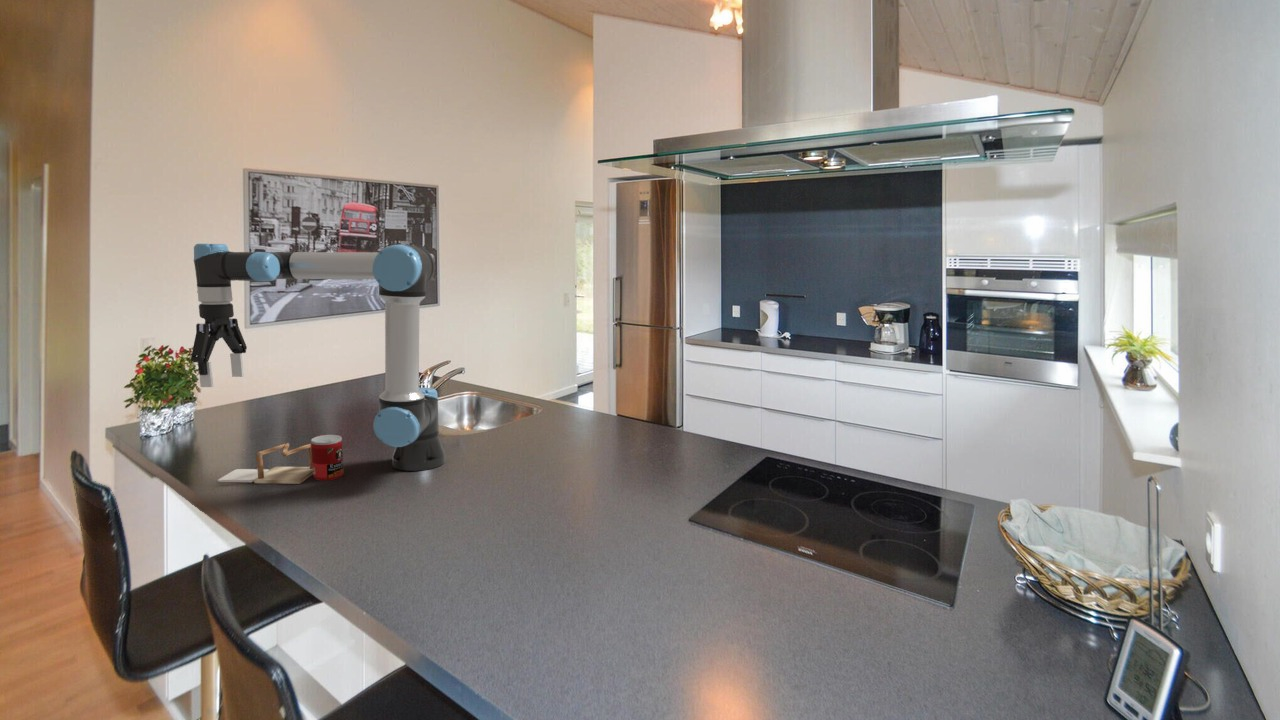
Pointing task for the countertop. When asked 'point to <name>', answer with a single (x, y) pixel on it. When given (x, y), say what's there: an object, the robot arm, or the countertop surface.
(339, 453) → the canned food
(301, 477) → the wooden zigzag stand
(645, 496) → the countertop surface
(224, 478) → the coaster
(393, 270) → the robot arm
